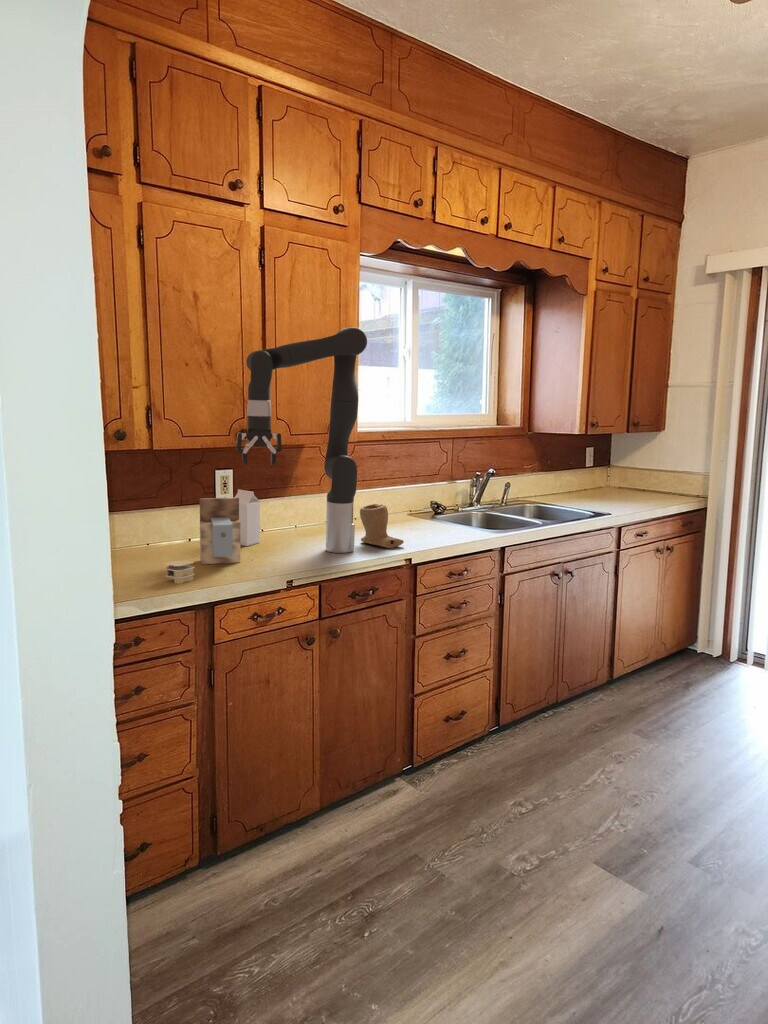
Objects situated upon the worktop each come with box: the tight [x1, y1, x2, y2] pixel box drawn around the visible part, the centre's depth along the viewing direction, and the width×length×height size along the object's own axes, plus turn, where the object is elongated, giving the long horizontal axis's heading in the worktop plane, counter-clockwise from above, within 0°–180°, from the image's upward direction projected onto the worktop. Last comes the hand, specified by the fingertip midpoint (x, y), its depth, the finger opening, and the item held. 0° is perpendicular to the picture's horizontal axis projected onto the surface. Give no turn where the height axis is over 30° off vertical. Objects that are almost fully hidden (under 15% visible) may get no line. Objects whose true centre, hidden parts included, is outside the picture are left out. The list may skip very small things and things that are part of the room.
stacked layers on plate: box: [165, 559, 195, 584], centre depth 194 cm, size 10×9×6 cm
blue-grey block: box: [211, 517, 232, 557], centre depth 211 cm, size 6×10×10 cm, turn 19°
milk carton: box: [233, 489, 261, 547], centre depth 240 cm, size 7×7×19 cm
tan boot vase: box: [359, 503, 404, 549], centre depth 245 cm, size 15×12×15 cm
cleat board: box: [199, 497, 241, 565], centre depth 215 cm, size 12×5×20 cm, turn 109°
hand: (259, 465), depth 220 cm, fingers open, 8 cm apart
